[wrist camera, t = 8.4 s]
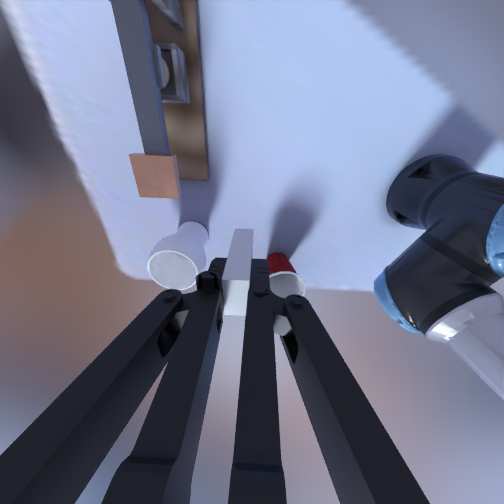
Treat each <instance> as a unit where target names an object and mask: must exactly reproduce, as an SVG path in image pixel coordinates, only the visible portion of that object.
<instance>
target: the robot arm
mask: <svg viewBox="0 0 504 504" xmlns="http://www.w3.org/2000/svg"><path fill="white" fill-rule="evenodd" d="M386 206H387V210H388V213H389V215H390V216H391V217H392V218H393V219H394V220H395V221H397V222H398V223H400V224H402V225H404V226H407V227H412V228H418V229H424V230H427V231H426V232H425V233H423V234H422V235H421V236H420V237H419V238H418V239H417V240H416V241H415V242H414V243H413V244H411V245H410V246H409V247H408V248H407V249H406V250H405V251H404V252H403V253H402V254H401V255H400V256H399V257H398V258H396V259H395V260H394V261H393V262H392V263H391V264H390V265H389V266H387V267H385V269H384V271H383V272H382V273H381V274H380V275H379V276H378V277H377V278H376V280H375V282H374V292H375V294H376V297H377V298H378V300H379V302H380V304H381V305H382V307H383V308H384V309H385V311H386V312H387V313H388V314H389V315H390V316H391V317H392V318H393V319H394V320H397V322H398V323H399V325H401V326H402V327H403V328H405V329H406V330H408V331H410V332H413V333H423V334H424V335H425V336H426V337H427V338H428V339H430V340H434V341H439V342H443V343H446V344H448V345H449V346H450V347H451V348H452V349H453V350H454V351H455V352H456V353H457V354H458V355H459V356H460V357H461V358H462V359H463V360H464V361H465V362H466V363H467V364H468V365H469V366H470V367H471V368H472V369H473V370H474V371H475V372H476V373H477V374H478V375H479V376H480V377H481V378H482V379H483V380H484V381H485V382H486V383H487V384H488V385H489V386H490V387H491V388H492V389H493V390H494V391H495V392H496V393H497V394H498V395H499V396H500V397H501V398H502V399H503V400H504V298H503V296H502V295H501V294H499V293H497V292H496V291H495V290H493V289H492V288H490V285H492V284H493V283H495V282H496V281H498V280H499V279H500V278H502V277H504V178H502V177H498V176H493V175H488V174H483V173H478V172H477V171H476V170H475V169H473V168H472V167H471V166H470V165H468V164H467V163H466V162H465V161H463V160H461V159H459V158H457V157H454V156H448V155H432V156H428V157H425V158H422V159H420V160H418V161H416V162H414V163H413V164H411V165H410V166H408V167H407V168H406V169H405V170H403V171H402V172H401V173H400V174H399V176H398V177H397V178H396V179H395V181H394V182H393V184H392V186H391V187H390V190H389V192H388V195H387V201H386ZM252 258H253V229H235V231H234V235H233V239H232V243H231V246H230V250H229V254H228V258H215V259H214V260H213V261H212V262H211V264H210V267H209V269H208V271H204V272H201V273H200V274H198V275H197V276H196V277H195V278H196V285H197V291H195V292H192V293H187V294H182V293H181V292H180V291H179V290H177V289H169V290H165V291H163V292H161V293H160V294H159V295H158V296H157V297H156V298H155V299H154V300H153V301H152V302H151V303H150V304H149V305H148V306H147V307H146V308H145V309H144V310H143V311H142V312H141V313H140V314H139V315H138V316H137V317H136V318H135V319H134V320H133V321H132V322H131V323H130V324H129V325H128V326H127V327H126V328H125V329H124V330H123V331H122V332H121V333H120V334H119V335H118V336H117V337H116V338H115V339H114V341H112V342H111V344H109V346H108V347H107V348H106V349H105V350H104V351H103V352H102V353H101V354H100V355H99V356H98V357H97V358H96V359H95V360H94V361H93V362H92V363H91V364H90V365H89V366H88V367H87V368H86V369H85V370H84V371H83V372H82V373H81V374H80V375H79V376H78V377H77V378H76V379H75V380H74V381H73V382H72V383H71V384H70V385H69V386H68V387H67V388H66V389H65V390H64V391H63V392H62V393H61V394H60V395H59V396H58V397H57V398H56V399H55V400H54V402H53V403H51V405H50V406H49V407H48V408H47V409H46V410H45V411H44V412H43V413H42V414H41V415H40V416H39V417H38V418H37V419H36V420H35V421H34V422H33V423H32V424H31V425H30V426H29V427H28V428H27V429H26V430H25V431H24V432H23V433H22V434H21V435H20V436H19V437H18V438H17V439H16V440H15V441H14V442H13V443H12V444H11V445H10V446H9V447H8V448H7V449H6V450H5V451H4V452H3V453H2V454H1V455H0V504H75V502H76V500H77V499H78V498H79V496H80V495H81V493H82V492H83V490H84V489H85V487H86V485H87V484H88V483H89V481H90V480H91V478H92V476H93V475H94V473H95V472H96V470H97V469H98V467H99V466H100V464H101V463H102V461H103V460H104V458H105V457H106V455H107V454H108V452H109V451H110V449H111V447H112V446H113V444H114V443H115V441H116V440H117V438H118V437H119V435H120V434H121V432H122V431H123V429H124V428H125V426H126V424H127V423H128V422H129V420H130V418H131V417H132V416H133V414H134V412H135V411H136V409H137V408H138V406H139V405H140V403H141V402H142V400H143V399H144V397H145V396H146V394H147V393H148V391H149V390H150V388H151V387H152V385H153V383H154V382H155V380H156V379H157V377H158V376H159V374H160V373H161V371H162V370H163V368H164V367H165V365H166V364H167V362H168V364H167V366H166V369H165V371H164V374H163V376H162V379H161V381H160V384H159V386H158V389H157V391H156V394H155V396H154V399H153V401H152V404H151V406H150V409H149V411H148V414H147V416H146V419H145V421H144V424H143V426H142V429H141V431H140V434H139V436H138V439H137V441H136V444H135V446H134V448H133V451H132V452H131V454H130V455H129V456H128V457H127V458H126V459H125V460H124V461H123V462H122V463H121V464H120V466H119V467H118V469H117V470H116V473H115V474H114V476H113V478H112V480H111V483H110V485H109V487H108V489H107V492H106V494H105V496H104V499H103V501H102V503H101V504H189V503H190V494H191V481H192V475H193V470H194V465H195V460H196V455H197V450H198V444H199V440H200V435H201V429H202V424H203V419H204V414H205V409H206V404H207V399H208V394H209V389H210V383H211V379H212V374H213V369H214V364H215V358H216V353H217V349H218V343H219V338H220V333H221V328H222V323H223V318H222V315H223V311H224V314H225V315H243V316H246V318H245V330H244V342H243V353H242V364H241V376H240V387H239V399H238V409H237V421H236V432H235V444H234V455H233V464H232V470H231V478H230V488H229V499H228V504H287V502H286V488H285V478H284V472H283V468H282V462H281V449H280V433H279V415H278V397H277V381H276V362H275V345H274V333H276V334H279V335H280V338H281V341H282V344H283V346H284V349H285V352H286V355H287V358H288V360H289V363H290V366H291V369H292V371H293V374H294V377H295V380H296V383H297V385H298V388H299V391H300V393H301V396H302V399H303V402H304V405H305V407H306V410H307V413H308V416H309V419H310V421H311V424H312V426H313V430H314V432H315V435H316V438H317V441H318V443H319V446H320V449H321V452H322V454H323V457H324V460H325V463H326V466H327V468H328V471H329V474H330V477H331V479H332V482H333V485H334V488H335V490H336V493H337V496H338V499H339V501H340V504H430V503H429V501H428V500H427V498H426V496H425V495H424V493H423V491H422V490H421V488H420V486H419V485H418V483H417V481H416V480H415V478H414V476H413V475H412V473H411V471H410V470H409V468H408V466H407V465H406V463H405V461H404V460H403V458H402V456H401V455H400V453H399V451H398V450H397V448H396V446H395V445H394V443H393V441H392V439H391V438H390V436H389V434H388V433H387V431H386V430H385V428H384V426H383V425H382V423H381V421H380V420H379V418H378V416H377V415H376V413H375V411H374V410H373V408H372V406H371V404H370V403H369V401H368V399H367V398H366V396H365V394H364V393H363V391H362V389H361V388H360V386H359V384H358V383H357V381H356V379H355V378H354V376H353V374H352V373H351V371H350V370H349V368H348V366H347V364H346V363H345V362H344V359H343V358H342V356H341V354H340V353H339V351H338V350H337V348H336V347H335V344H334V343H333V342H332V340H331V338H330V336H329V334H328V333H327V332H326V329H325V328H324V326H323V324H322V323H321V321H320V319H319V318H318V316H317V314H316V313H315V311H314V309H313V308H312V306H311V304H310V303H309V301H308V300H307V299H306V298H305V297H303V296H301V295H298V294H292V295H288V296H287V297H286V298H282V297H279V296H277V295H275V294H274V293H273V292H272V291H271V289H270V277H269V263H268V262H267V261H266V259H252Z"/></svg>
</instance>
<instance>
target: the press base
mask: <svg viewBox="0 0 504 504" xmlns="http://www.w3.org/2000/svg"><path fill="white" fill-rule="evenodd" d="M109 1H110V2H111V0H109ZM146 6H147V12H148V18H149V24H150V30H151V36H152V43H153V45H158V46H159V47H160V50H161V57H162V58H163V59H164V60H165V62H166V64H167V66H168V69H169V74H170V78H169V82H168V84H167V86H166V88H163V89H160V92H161V98H162V105H163V111H164V117H165V123H166V129H167V136H168V142H169V148H170V154H171V155H176V160H177V167H178V173H179V179H181V180H205V181H207V180H208V179H209V170H208V155H207V141H206V127H205V113H204V99H203V85H202V71H201V57H200V43H199V29H198V15H197V1H196V0H146Z"/></svg>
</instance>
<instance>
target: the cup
mask: <svg viewBox="0 0 504 504" xmlns="http://www.w3.org/2000/svg"><path fill="white" fill-rule="evenodd" d="M208 239H209V235H208V232H207V230H206V229H205V227H204V226H203V225H201V224H200V223H197V222H193V221H188V222H185V223H183V224H182V225H180V227H179V228H178V231H177V234H173V235H170V236H168V237H166V238H163V239H162V240H161V241H159V242H158V243H157V245H156V246H155V247H154V249H153V250H152V251H151V254H150V257H149V260H148V265H147V266H148V271H149V274H150V276H151V277H152V278H153V280H154V281H156V282H157V283H158V284H159V285H161V286H163V287H165V288H168V289H177V290H184V289H187V288H190V287H191V286H193V285H194V284H195V283H196V278H195V277H196V276H197V275H198V274H200V273H201V272H203V271H204V268H205V265H206V256H205V251H204V246H205V245H206V244H207V242H208Z"/></svg>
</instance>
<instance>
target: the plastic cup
mask: <svg viewBox="0 0 504 504" xmlns="http://www.w3.org/2000/svg"><path fill="white" fill-rule="evenodd" d="M266 261H267V262H268V263H269V277H270V289H271V291H272V292H273V293H274V294H275V295H277V296H279V297H282V298H286V297H287V296H288V295H292V294H298V295H301V296H303V295H304V294H305V291H306V283H305V280H304V279H303V278H302V277H301V276H300V275H299V274H297V273H296V271H295V270H294V268H293V266H292V265H291V263H290V262H289V260H288V259H287V257H286V256H285V255H284V254H282V253H273V254H271V255H269V256H268V258H267V260H266Z"/></svg>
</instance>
